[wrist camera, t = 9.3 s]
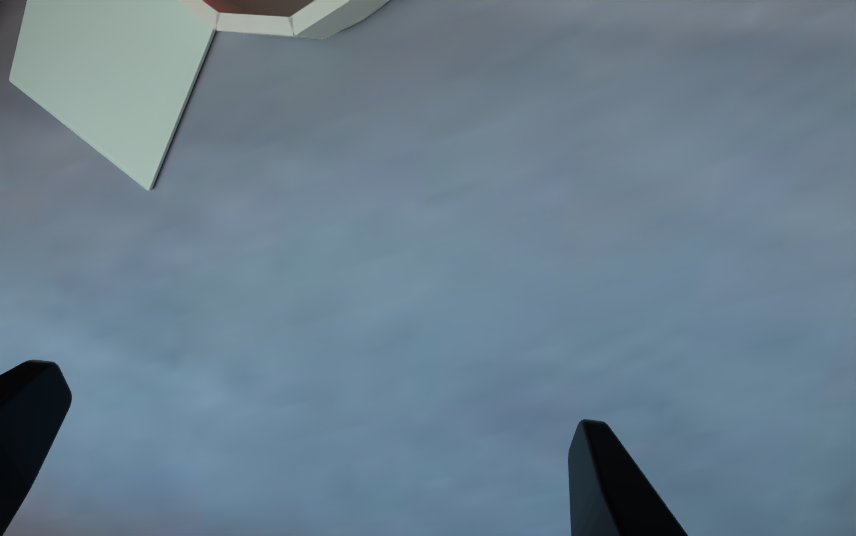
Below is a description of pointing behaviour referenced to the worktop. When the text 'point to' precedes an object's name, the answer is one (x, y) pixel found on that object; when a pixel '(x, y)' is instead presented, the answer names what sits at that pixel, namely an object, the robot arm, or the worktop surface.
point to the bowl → (283, 15)
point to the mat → (113, 73)
